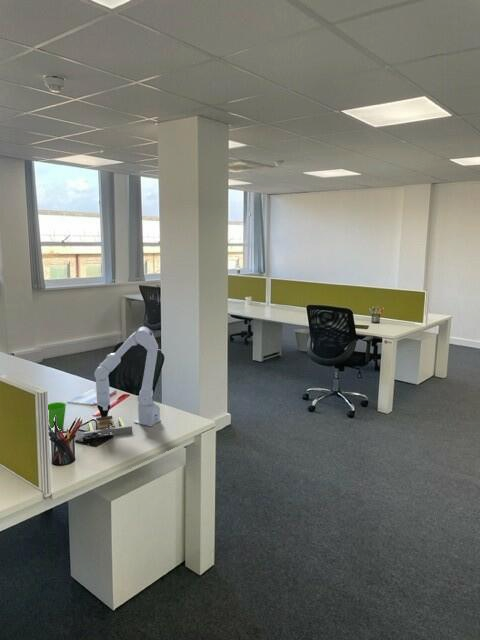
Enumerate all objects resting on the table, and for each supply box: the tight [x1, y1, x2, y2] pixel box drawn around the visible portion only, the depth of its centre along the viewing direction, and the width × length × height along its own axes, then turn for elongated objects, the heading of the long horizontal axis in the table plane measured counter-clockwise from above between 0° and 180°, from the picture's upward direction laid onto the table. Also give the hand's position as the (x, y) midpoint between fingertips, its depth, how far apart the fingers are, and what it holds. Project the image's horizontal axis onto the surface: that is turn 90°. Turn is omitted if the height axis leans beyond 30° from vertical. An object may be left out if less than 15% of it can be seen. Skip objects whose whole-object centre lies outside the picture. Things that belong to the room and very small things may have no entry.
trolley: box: [95, 415, 116, 430], centre depth 211 cm, size 10×7×4 cm
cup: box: [47, 401, 67, 430], centre depth 209 cm, size 9×9×11 cm
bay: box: [83, 417, 133, 438], centre depth 209 cm, size 14×20×3 cm
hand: (104, 420), depth 217 cm, fingers closed
